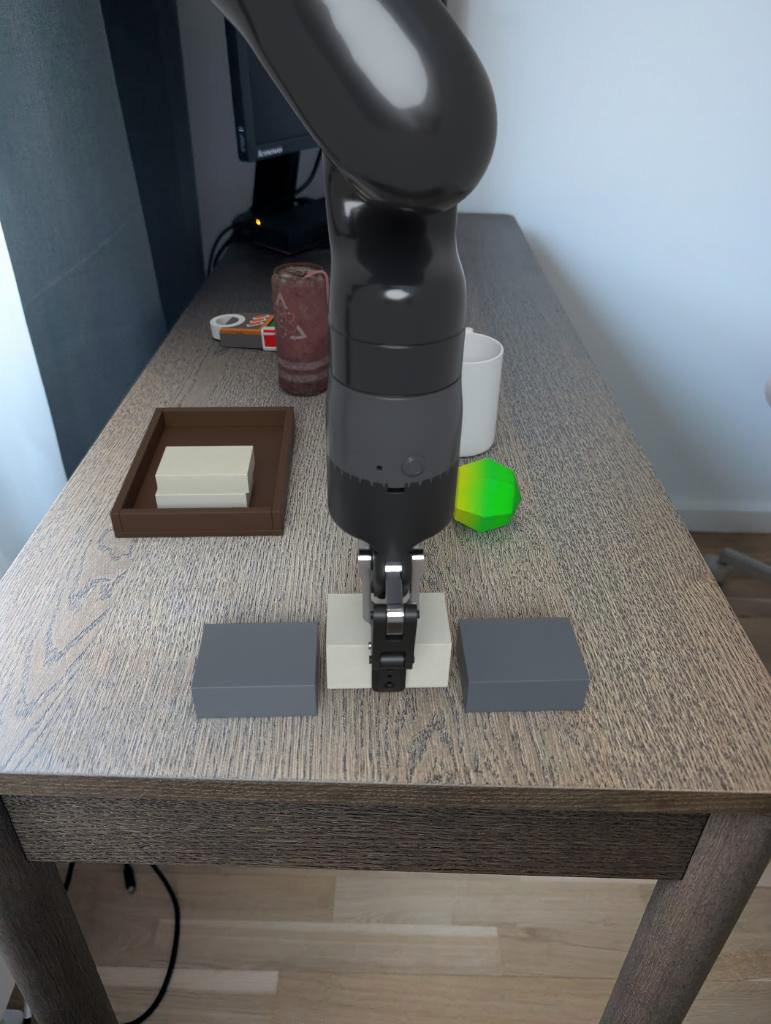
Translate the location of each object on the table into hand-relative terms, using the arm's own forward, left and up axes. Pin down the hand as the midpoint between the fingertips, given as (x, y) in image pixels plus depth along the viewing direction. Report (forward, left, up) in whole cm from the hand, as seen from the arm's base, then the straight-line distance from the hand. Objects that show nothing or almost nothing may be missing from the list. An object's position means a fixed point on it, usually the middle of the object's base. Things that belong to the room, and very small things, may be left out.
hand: (386, 656), depth 53 cm
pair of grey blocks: (0, 0, -2) cm, 2 cm away
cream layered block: (-16, +22, -2) cm, 28 cm away
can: (-8, +47, -3) cm, 48 cm away
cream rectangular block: (0, 0, 0) cm, 0 cm away
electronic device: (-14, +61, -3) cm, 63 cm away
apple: (+8, +19, -3) cm, 21 cm away
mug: (+9, +36, -3) cm, 37 cm away
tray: (-16, +27, -2) cm, 31 cm away
